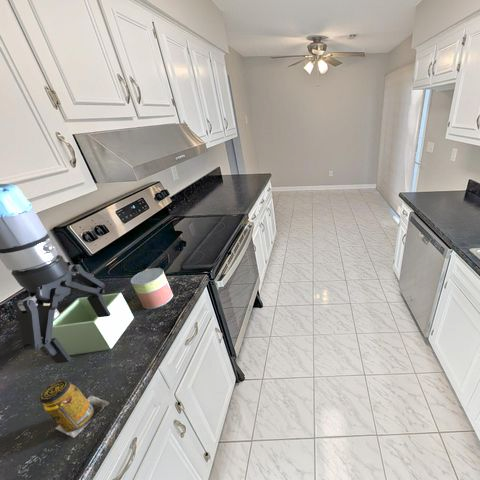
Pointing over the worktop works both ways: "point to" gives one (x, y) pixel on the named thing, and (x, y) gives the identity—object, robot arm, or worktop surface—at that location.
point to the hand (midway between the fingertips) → (86, 336)
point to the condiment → (70, 407)
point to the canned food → (152, 288)
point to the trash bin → (91, 325)
